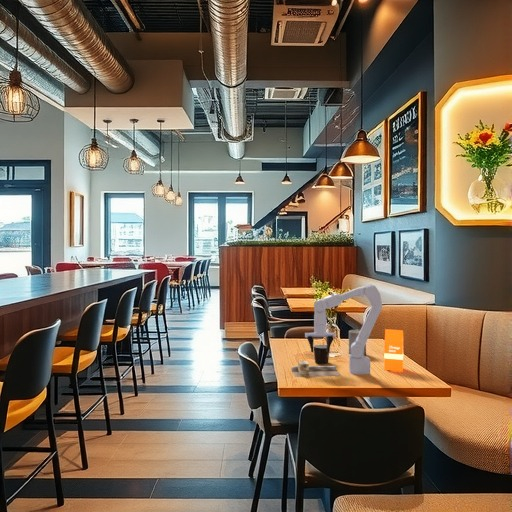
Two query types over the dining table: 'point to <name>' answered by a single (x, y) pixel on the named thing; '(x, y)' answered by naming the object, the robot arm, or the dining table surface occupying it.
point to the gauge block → (303, 367)
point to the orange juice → (393, 350)
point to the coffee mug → (321, 354)
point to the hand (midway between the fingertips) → (320, 351)
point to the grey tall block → (352, 338)
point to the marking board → (317, 371)
